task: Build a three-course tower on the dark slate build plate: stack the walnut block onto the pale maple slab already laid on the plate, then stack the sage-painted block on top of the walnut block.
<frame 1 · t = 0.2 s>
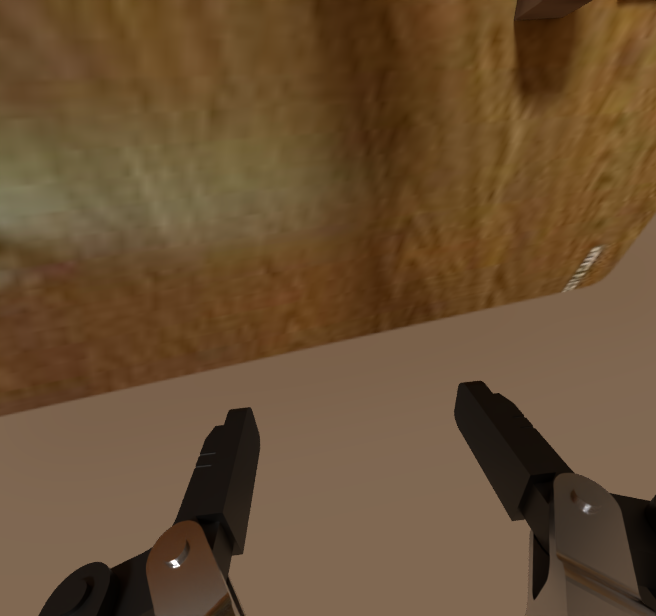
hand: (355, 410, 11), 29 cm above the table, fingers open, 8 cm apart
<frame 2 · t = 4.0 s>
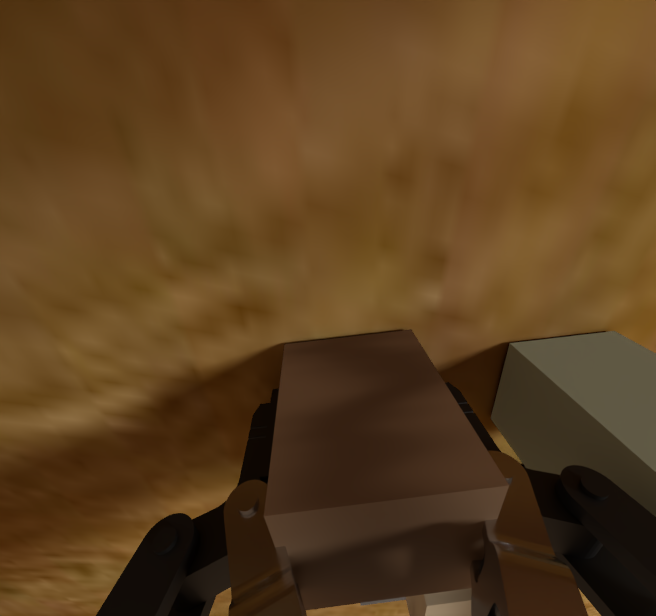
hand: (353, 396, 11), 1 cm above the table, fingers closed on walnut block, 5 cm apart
sage block: (547, 378, 13), on the table
walnut block: (351, 384, 12), on the table, touching gripper
maple slab: (459, 553, 18), point 1 cm above the table, touching build plate
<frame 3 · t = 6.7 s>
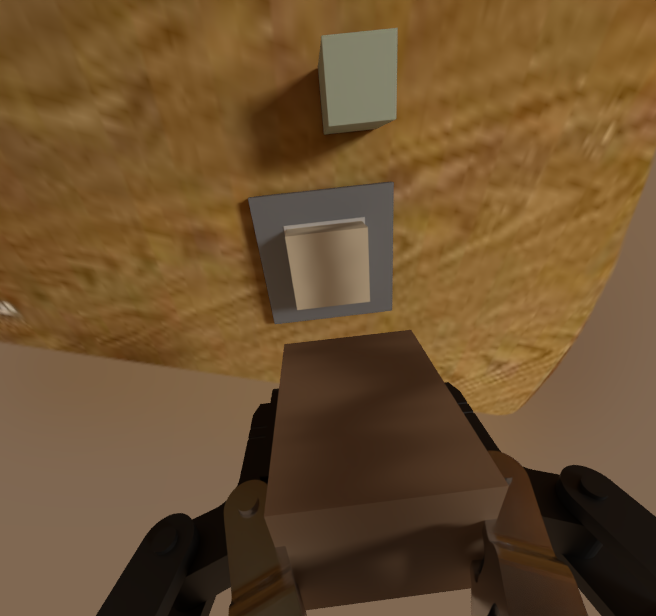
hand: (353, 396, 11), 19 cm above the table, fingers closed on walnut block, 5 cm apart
sage block: (348, 99, 23), on the table
build plate: (327, 257, 29), on the table
walnut block: (351, 385, 12), point 19 cm above the table, touching gripper
maple slab: (328, 260, 28), point 1 cm above the table, touching build plate
when the fingers open (6 cm above the table, at t = 9.6 s): walnut block drops 1 cm, resting on maple slab.
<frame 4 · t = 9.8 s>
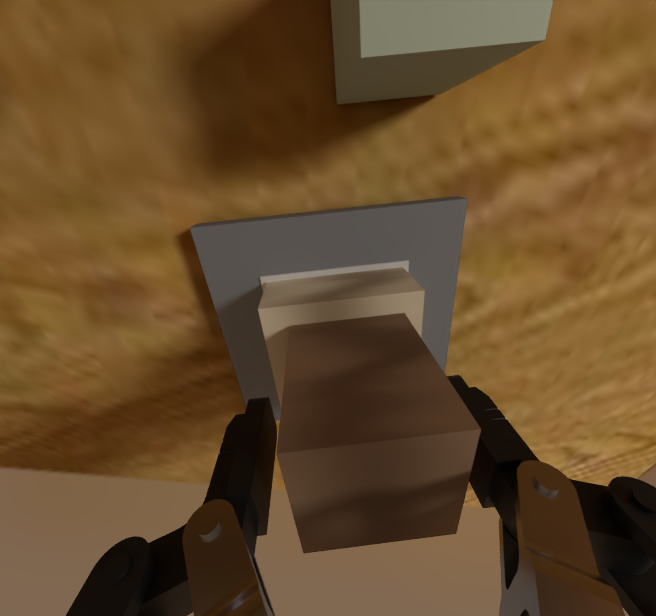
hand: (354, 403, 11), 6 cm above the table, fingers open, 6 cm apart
sage block: (389, 29, 11), on the table
build plate: (338, 322, 17), on the table
walnut block: (350, 364, 13), point 4 cm above the table, touching maple slab
maple slab: (340, 332, 16), point 1 cm above the table, touching build plate, walnut block
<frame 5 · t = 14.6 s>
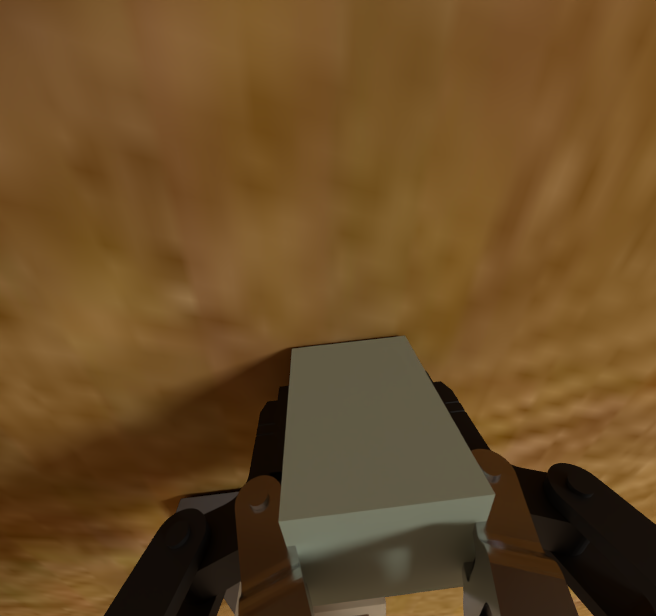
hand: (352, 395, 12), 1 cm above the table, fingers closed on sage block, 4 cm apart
sage block: (351, 385, 12), on the table, touching gripper
build plate: (315, 543, 18), on the table
maple slab: (316, 565, 17), point 1 cm above the table, touching build plate, walnut block
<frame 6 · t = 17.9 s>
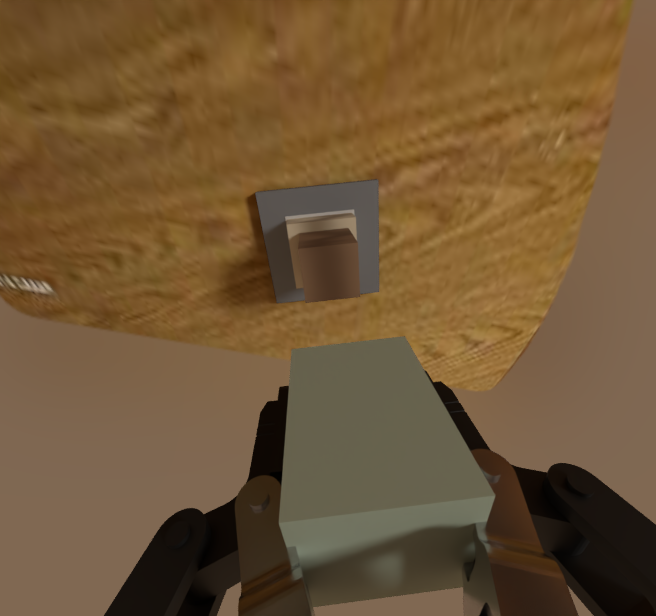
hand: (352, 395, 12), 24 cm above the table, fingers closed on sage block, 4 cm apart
sage block: (351, 385, 12), point 24 cm above the table, touching gripper
build plate: (322, 244, 33), on the table
walnut block: (326, 254, 30), point 4 cm above the table, touching maple slab
maple slab: (323, 247, 32), point 1 cm above the table, touching build plate, walnut block
when the fingers open (12 cm above the table, at t = 21.0 s): sage block drops 1 cm, resting on walnut block.
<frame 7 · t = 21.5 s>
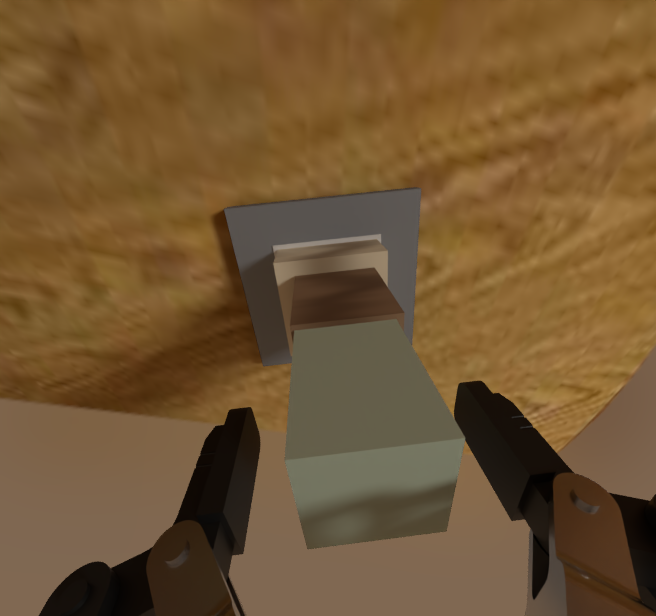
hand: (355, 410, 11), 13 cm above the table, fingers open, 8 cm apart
sage block: (348, 365, 13), point 10 cm above the table, touching walnut block
build plate: (330, 284, 22), on the table
walnut block: (337, 307, 19), point 4 cm above the table, touching maple slab, sage block
maple slab: (331, 289, 21), point 1 cm above the table, touching build plate, walnut block
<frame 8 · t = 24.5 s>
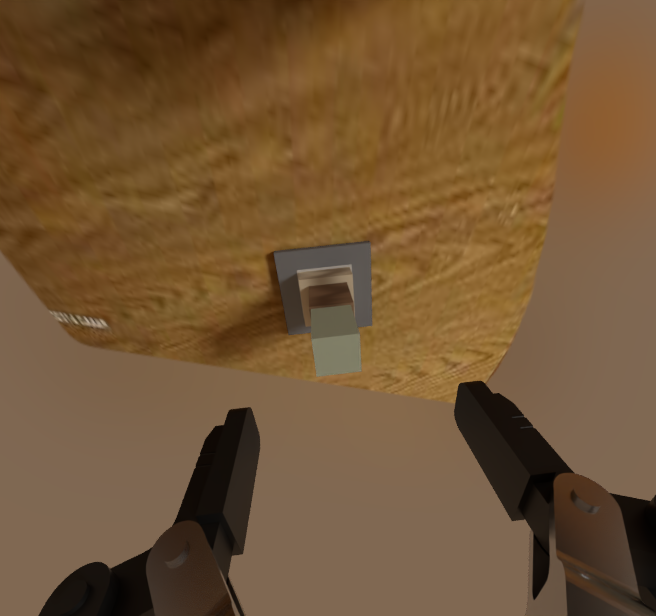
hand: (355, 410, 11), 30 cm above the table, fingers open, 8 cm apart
sage block: (332, 324, 32), point 10 cm above the table, touching walnut block
build plate: (326, 289, 41), on the table
walnut block: (329, 301, 38), point 4 cm above the table, touching maple slab, sage block
maple slab: (326, 292, 40), point 1 cm above the table, touching build plate, walnut block
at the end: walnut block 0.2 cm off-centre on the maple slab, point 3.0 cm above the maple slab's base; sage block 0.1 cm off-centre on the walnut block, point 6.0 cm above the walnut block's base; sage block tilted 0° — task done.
